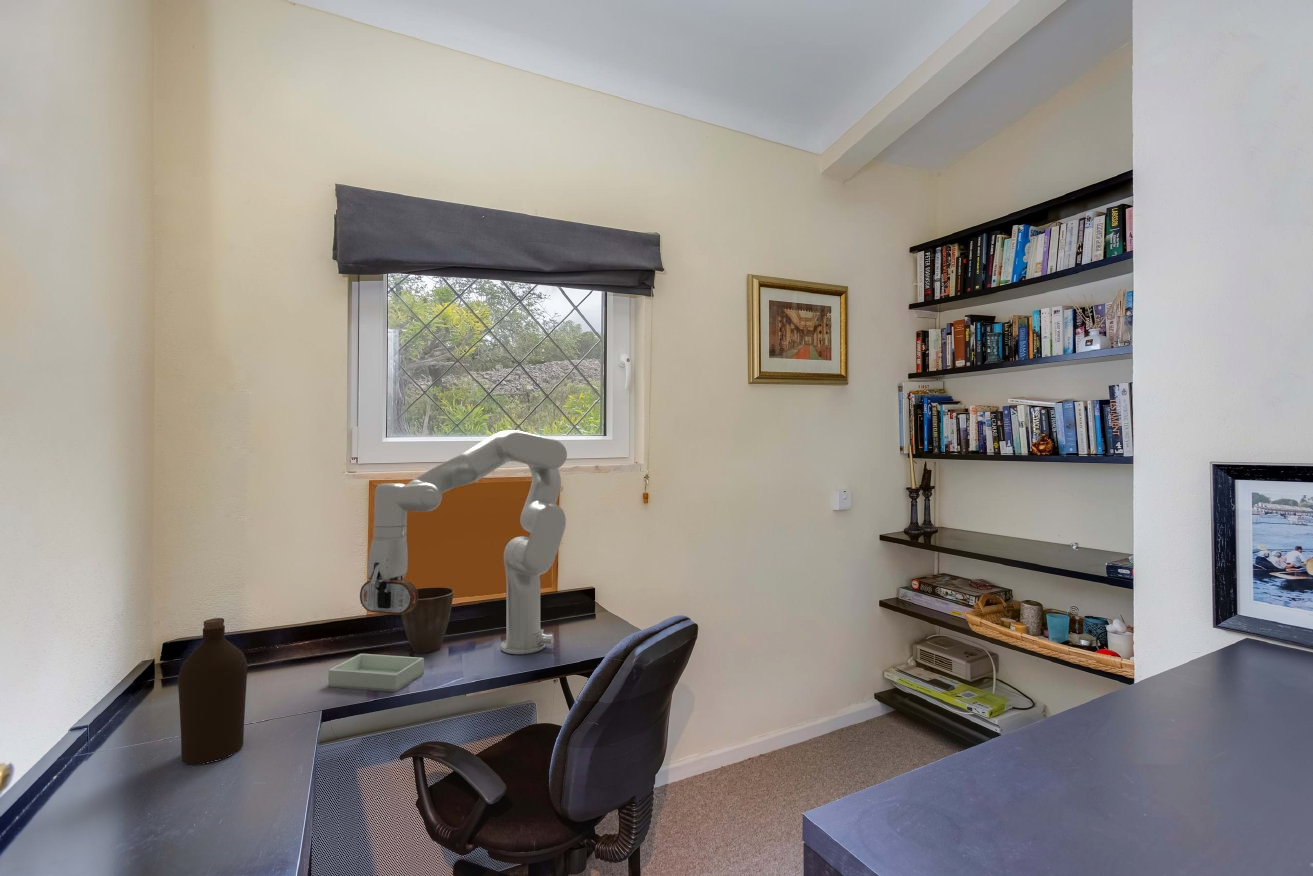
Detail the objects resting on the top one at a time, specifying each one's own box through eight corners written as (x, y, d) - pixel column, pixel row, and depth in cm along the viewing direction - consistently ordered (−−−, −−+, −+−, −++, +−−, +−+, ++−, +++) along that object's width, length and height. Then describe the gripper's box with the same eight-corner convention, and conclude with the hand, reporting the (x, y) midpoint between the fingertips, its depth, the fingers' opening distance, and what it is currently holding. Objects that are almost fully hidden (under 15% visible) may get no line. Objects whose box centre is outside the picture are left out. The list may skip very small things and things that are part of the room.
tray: (423, 673, 152) (423, 658, 152) (395, 692, 141) (395, 675, 141) (360, 669, 156) (360, 653, 156) (328, 686, 144) (328, 670, 144)
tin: (417, 614, 150) (420, 580, 151) (410, 616, 147) (413, 581, 148) (364, 609, 153) (367, 576, 154) (356, 612, 150) (359, 577, 150)
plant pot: (385, 653, 167) (385, 596, 167) (425, 638, 181) (425, 585, 181) (427, 661, 161) (427, 601, 162) (464, 644, 175) (464, 589, 175)
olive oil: (204, 771, 107) (205, 631, 107) (163, 762, 110) (163, 625, 110) (260, 743, 117) (261, 614, 117) (220, 735, 120) (221, 610, 121)
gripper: (396, 528, 159) (394, 598, 159) (355, 536, 143) (352, 613, 143) (422, 529, 158) (420, 599, 157) (383, 537, 142) (381, 615, 141)
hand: (388, 605), depth 150 cm, fingers closed on tin, 2 cm apart
